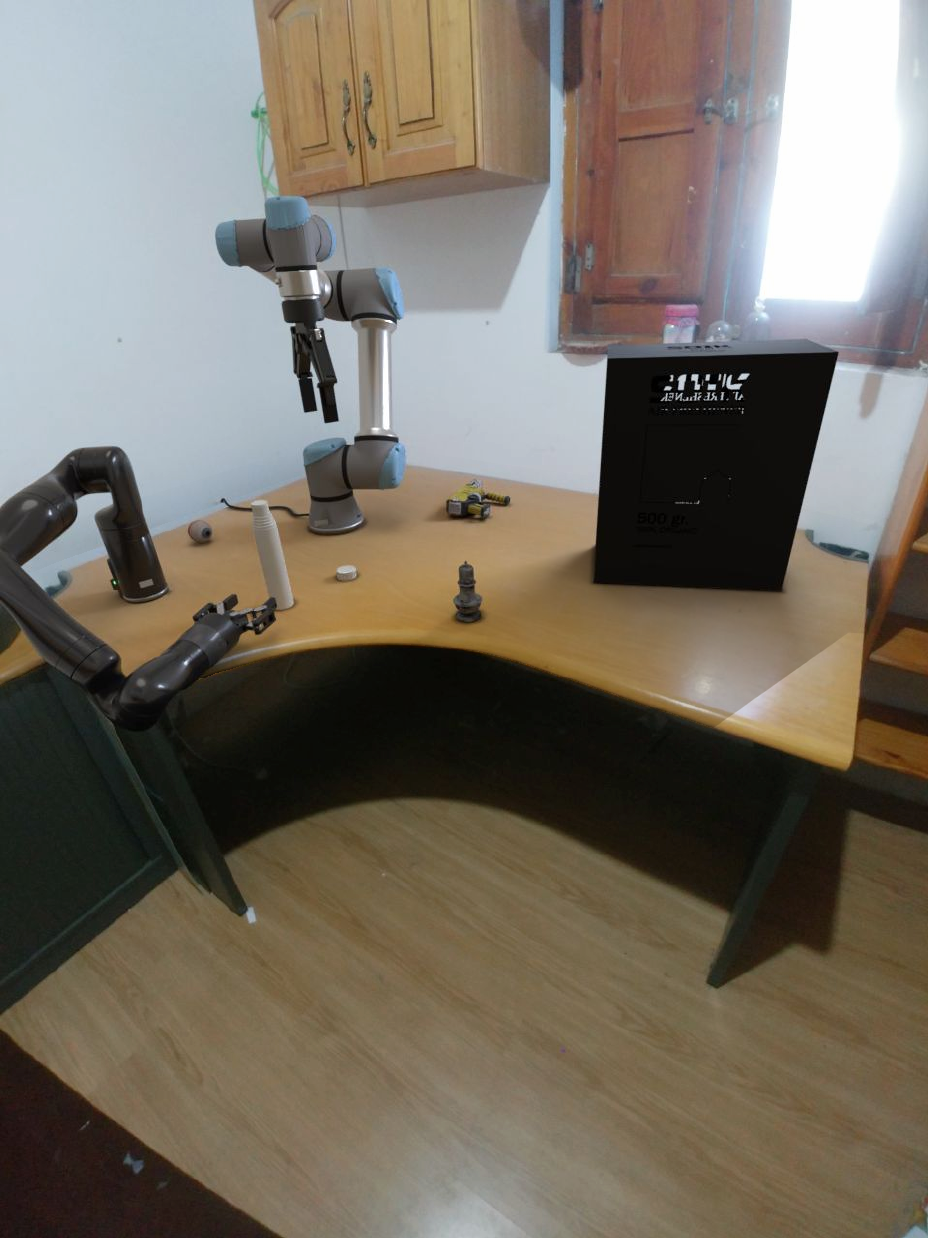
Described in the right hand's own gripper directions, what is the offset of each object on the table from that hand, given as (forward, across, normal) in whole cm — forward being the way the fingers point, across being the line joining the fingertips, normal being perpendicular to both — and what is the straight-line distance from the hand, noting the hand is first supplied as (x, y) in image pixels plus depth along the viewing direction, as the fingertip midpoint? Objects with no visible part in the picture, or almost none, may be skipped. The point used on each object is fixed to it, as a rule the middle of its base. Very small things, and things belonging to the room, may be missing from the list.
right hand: (320, 416), depth 122 cm
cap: (+34, 0, 0) cm, 34 cm away
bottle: (+36, +5, -16) cm, 40 cm away
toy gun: (+36, -22, +50) cm, 65 cm away
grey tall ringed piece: (+36, +32, +14) cm, 50 cm away
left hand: (+30, +12, -22) cm, 39 cm away
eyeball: (+36, -44, -25) cm, 62 cm away
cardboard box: (+36, +40, +64) cm, 84 cm away
